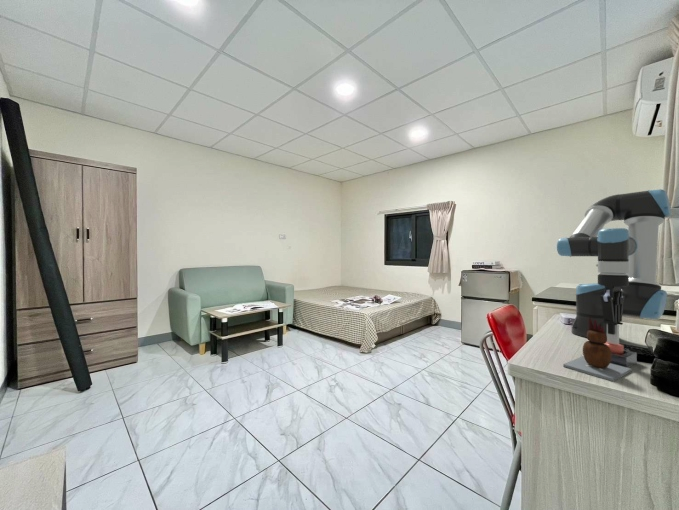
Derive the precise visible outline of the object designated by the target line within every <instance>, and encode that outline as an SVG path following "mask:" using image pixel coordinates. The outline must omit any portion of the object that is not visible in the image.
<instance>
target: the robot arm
mask: <svg viewBox="0 0 679 510" xmlns="http://www.w3.org/2000/svg"><path fill="white" fill-rule="evenodd" d="M671 215H672V209H671V205H670V199H669V195H668V194H667V192H666V190H665V189H651V190H650V189H647V190H643V191H635V192H629V193H620V194H619V193H618V194H613V195H610V196H606V197H604V198H602V199H600V200H598V201H597V202H595V203H593V204H592V205H590V206H589V207H588V209H587V210H586V211H585V213H584V218H583V219H582V220H581V222H580V223H579V224H578V226H577V227H576V229H575V230H574V231H573V233H572V234H571V235H570V236H569V237H561V238H559V239H558V240H557V242H556V251H557V254H558V255H559V256H561V257H570V258H571V257H597V263H596V264H595V266H596V267H597V273H598V275H597V283H596V282H595V283H583V284H578V285H577V286H576V292H575V298H576V299H575V309H576V311H575V312H576V316H575V318H574V321H573V323H572V324H571V325H572V326H571V333H572V334H574V335H577V336H579V337H584V338H587V332H588V331H589V318H591V321H592V324H593V325H594V321H595V320H596V323H597V327H598V324H600V327H603V329H604V333H605V334H606V336H607V343H611V344H616V345H618V344H620V326H622V325H624V322H623V316H624V317H625V316H626V317H632V318H640V319H648V320H657V319H660V318H661V317H662V315H664V312H665V310H666V306H667V305H666V304H667V301H668V300H667V299H668V293H667V291H666V290H664V289H662V285H661V284H659V283H658V282H657V281H656V279H657V263H658V262H657V260H658V247H659V245H658V242H659V227H660V225H662V224H663V223H665V221H666V220H665V219H666V218H669V217H671ZM612 221H615V222H616V221H623V223H624V224H625V225H626V226H628V227H627V228H628V229H627V228H624V227H622V228H620V227H619V228H617V227H616V228H613V227H612V228H604V227H605V225H607V224H608V223H610V222H612ZM603 228H604V229H603Z"/></svg>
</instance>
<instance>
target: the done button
mask: <svg viewBox="0 0 679 510" xmlns="http://www.w3.org/2000/svg"><path fill="white" fill-rule="evenodd" d="M604 344H606V345H607V346H608V347H609V348H610V350H611V353H615V354H619V355H623V354H624V350H625V348H624V345H623V344H621V343H619V344H618V345H616V344H611V343H607V342H606V343H604Z"/></svg>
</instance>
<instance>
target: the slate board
mask: <svg viewBox="0 0 679 510" xmlns="http://www.w3.org/2000/svg"><path fill="white" fill-rule="evenodd" d="M562 366H563V367H564V368H567V369H570V370H574V371H577V372H580V373H583V374H587V375H591V376H594V377H597V378H600V379H604V380H607V381H611V382H615V381H616V380H619V379H620V378H622V377H624V376H625V375H627V374H629V373H631V372H632V368H631V367H628V368H627V367H623V366H619V365H615V364H611V363H610V364H609V365H608V367H606V368H597V367H593V366H591V365H589V364H588V363H587V362H586V360H585V358H584V355H583V356H580V357H576V358H575V359H573V360H569V361H567V362H565V363H563V365H562Z"/></svg>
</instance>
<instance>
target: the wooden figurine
mask: <svg viewBox="0 0 679 510" xmlns="http://www.w3.org/2000/svg"><path fill="white" fill-rule="evenodd" d="M586 339H587V340H586V341H585V342H584V343H583V344H582V355H583V356H584V358H585V360H586V362H587V363H588V364H589V365H591V366H593V367H597V368H606V367H608V365H609V364H610V362H611V359H612V353H611V350H610V348H609V347H608V346H607V345H606V344H604V343H606V342H607V336H606V334H605V333H604V329H603V327H600V324H598V327H597V323H596V320H595V321H594V325H593V324H592V321H591V318H589V331H588V332H587V337H586Z"/></svg>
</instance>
